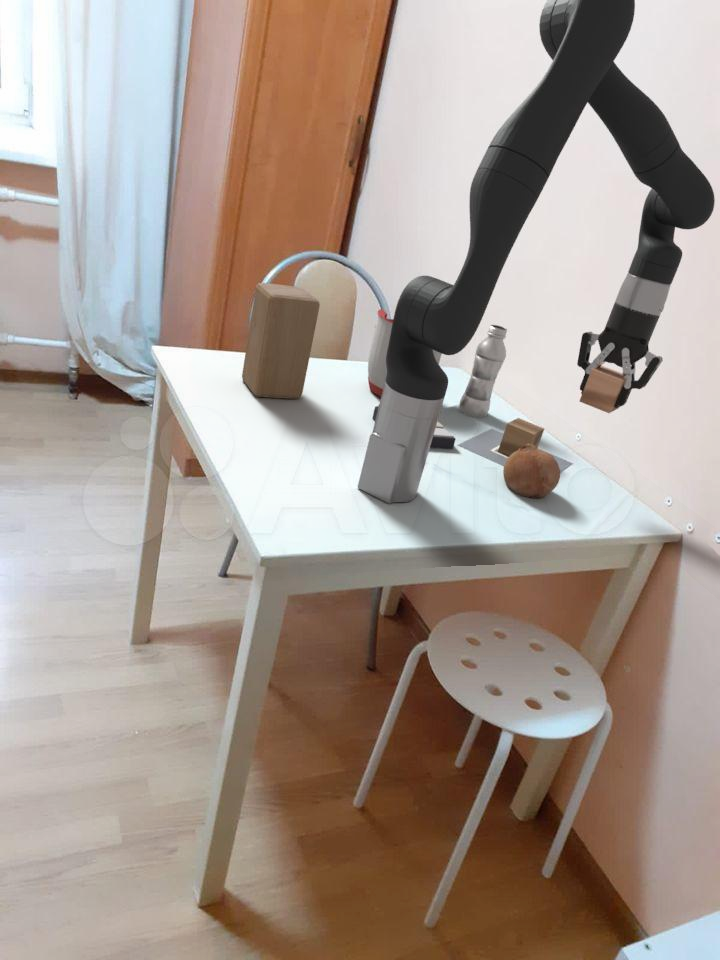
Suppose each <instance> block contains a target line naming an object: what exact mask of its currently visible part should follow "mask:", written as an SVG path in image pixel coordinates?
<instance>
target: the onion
mask: <svg viewBox="0 0 720 960" xmlns="http://www.w3.org/2000/svg"><path fill="white" fill-rule="evenodd" d="M539 449H540V448H538V449H537V447H536V446H534V445H532V444H530V443H529V444H528V443H527V444H525V446H523V447H521V448H520V449H519V450H518V451H516V452H514V453H513V454H511V455H510V456H509V458H508V459H507V460H506V462H505V465H504V466H503V474H502V475H503V480H504V483H505V484H506V486H507V488H508V489H510V490H511V491H513V492H514V493H516V494H518V495H520V496H524V497H527V498H530V499H538V500H540V499H543V498H544V497H545V496H547V495H548V494H550V493H552V492H553V491H554V490H555V488H557V487H558V485H559V481H560V477H561V473H560V469H559V465H558V463H557V461H556V460H555V459H554V457H553V456H552V455H553V454H552V453H550V452H548V451H545V450H543V449H541V450H539ZM542 450H543V451H542ZM544 451H545V452H544ZM547 452H548V453H547ZM549 453H550V454H549ZM551 454H552V455H551Z"/></svg>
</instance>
